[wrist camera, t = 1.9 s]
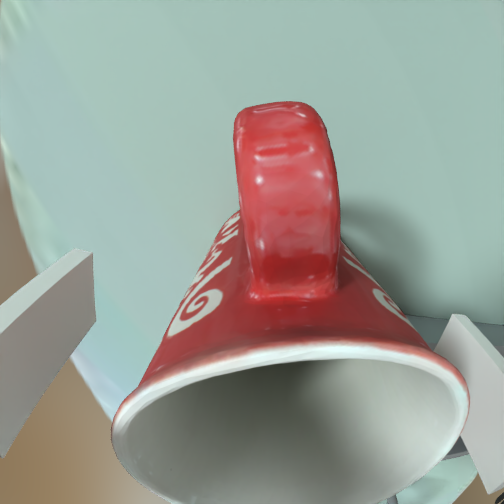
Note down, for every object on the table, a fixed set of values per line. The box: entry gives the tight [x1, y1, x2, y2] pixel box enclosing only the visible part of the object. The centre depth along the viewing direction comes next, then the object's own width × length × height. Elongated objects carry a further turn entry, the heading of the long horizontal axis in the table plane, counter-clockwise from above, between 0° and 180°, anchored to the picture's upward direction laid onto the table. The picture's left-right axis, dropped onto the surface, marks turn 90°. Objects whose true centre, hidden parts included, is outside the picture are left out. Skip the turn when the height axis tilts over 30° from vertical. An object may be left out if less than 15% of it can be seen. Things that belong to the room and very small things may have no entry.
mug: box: [111, 101, 470, 504], centre depth 12 cm, size 13×9×14 cm
